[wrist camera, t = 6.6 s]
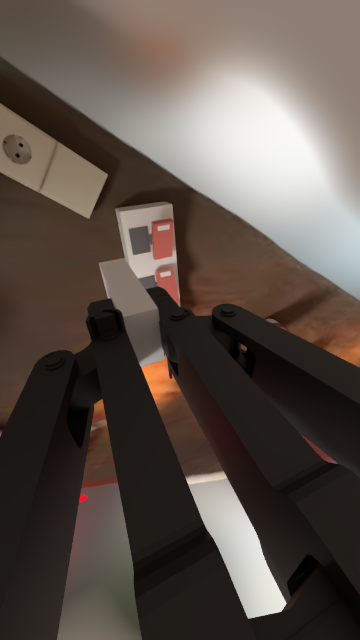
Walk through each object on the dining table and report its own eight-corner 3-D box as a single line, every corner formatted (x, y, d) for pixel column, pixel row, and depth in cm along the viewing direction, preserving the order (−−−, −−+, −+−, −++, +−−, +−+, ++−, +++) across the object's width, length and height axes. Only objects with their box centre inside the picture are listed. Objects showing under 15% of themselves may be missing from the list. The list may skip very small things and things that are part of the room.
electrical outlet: (89, 219, 39) (-64, 139, 29) (87, 215, 42) (-52, 141, 32) (109, 174, 37) (-48, 71, 27) (105, 173, 40) (-37, 80, 30)
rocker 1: (152, 256, 45) (154, 260, 44) (151, 221, 39) (153, 224, 39) (170, 253, 46) (172, 256, 45) (171, 218, 40) (173, 221, 40)
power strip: (145, 359, 62) (150, 372, 58) (115, 208, 43) (120, 212, 39) (178, 348, 65) (186, 360, 61) (164, 201, 45) (174, 205, 41)
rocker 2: (162, 306, 48) (163, 307, 47) (154, 271, 46) (156, 271, 45) (178, 302, 49) (180, 302, 48) (171, 268, 47) (173, 267, 46)
